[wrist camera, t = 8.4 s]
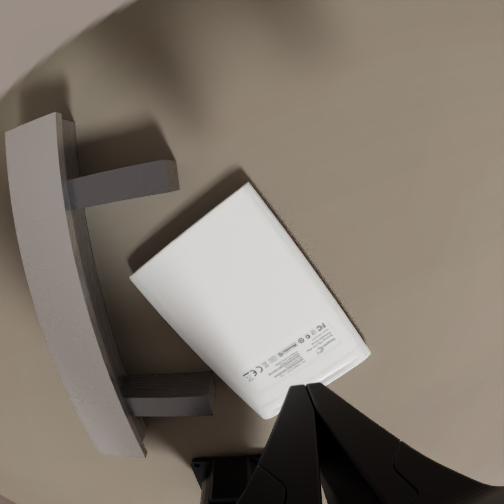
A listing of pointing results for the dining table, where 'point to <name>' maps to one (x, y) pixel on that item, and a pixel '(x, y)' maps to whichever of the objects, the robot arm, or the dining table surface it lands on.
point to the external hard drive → (250, 303)
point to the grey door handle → (88, 284)
